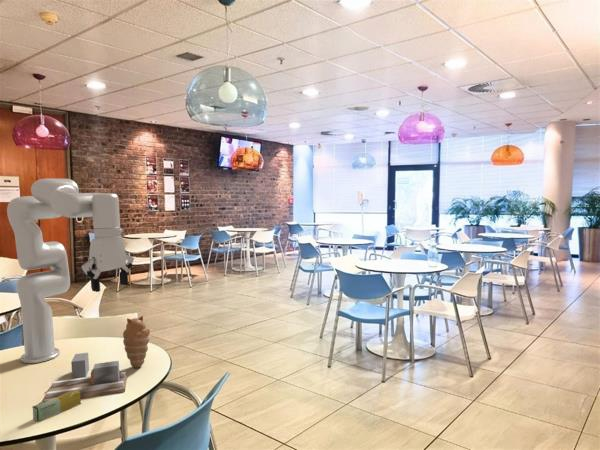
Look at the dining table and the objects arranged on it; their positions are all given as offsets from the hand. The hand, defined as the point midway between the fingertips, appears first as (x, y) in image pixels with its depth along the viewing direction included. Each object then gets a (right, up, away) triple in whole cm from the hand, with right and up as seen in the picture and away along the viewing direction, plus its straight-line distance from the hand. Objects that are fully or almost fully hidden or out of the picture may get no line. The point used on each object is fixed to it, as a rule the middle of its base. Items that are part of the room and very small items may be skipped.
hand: (110, 287), depth 134 cm
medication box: (-9, -33, -13) cm, 37 cm away
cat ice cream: (+3, -30, +15) cm, 34 cm away
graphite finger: (-15, -31, +11) cm, 36 cm away
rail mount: (-7, -32, 0) cm, 32 cm away
